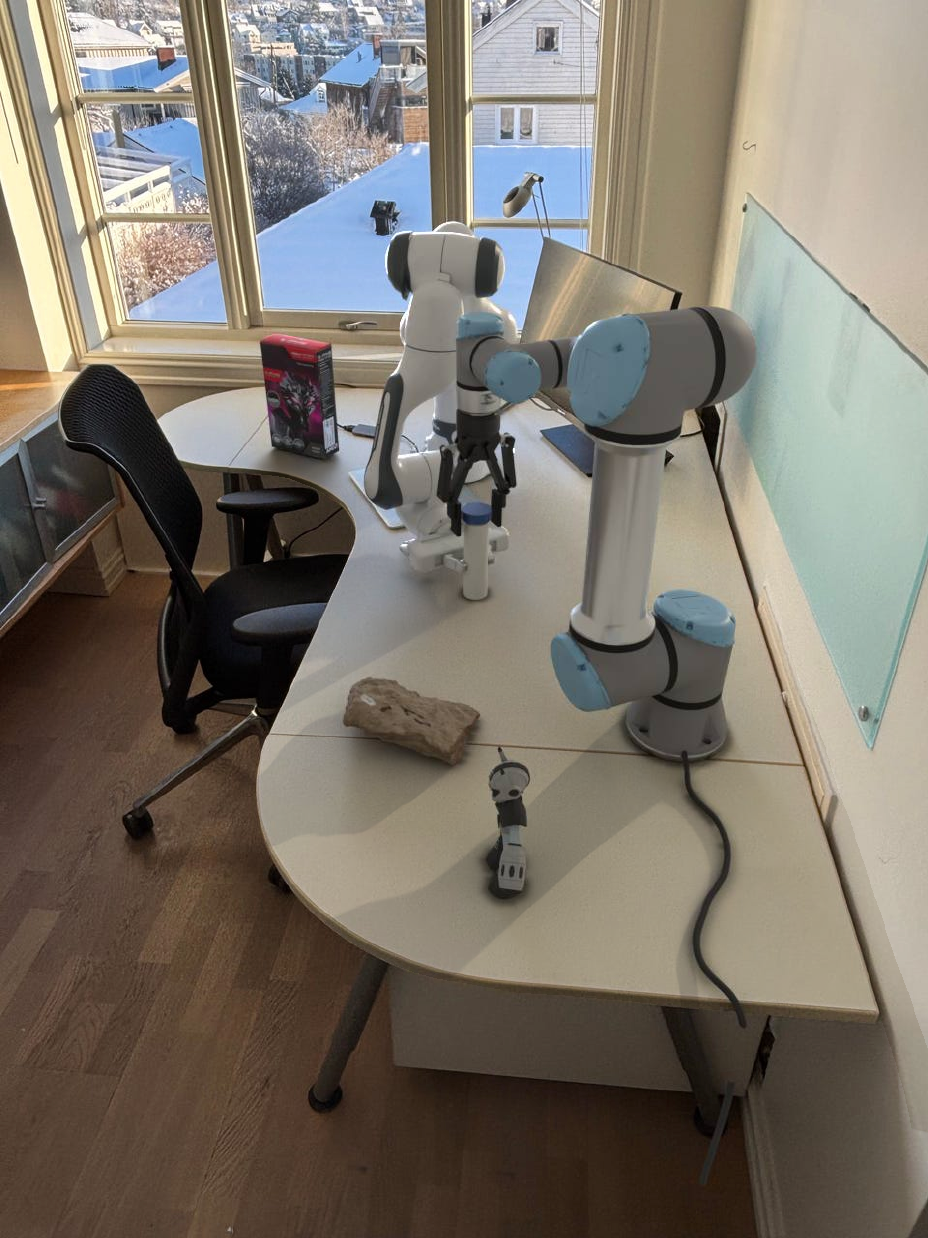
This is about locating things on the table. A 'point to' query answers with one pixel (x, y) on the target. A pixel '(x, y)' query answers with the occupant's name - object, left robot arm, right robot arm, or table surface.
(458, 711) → the stone
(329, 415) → the graphics card box
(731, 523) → the table surface
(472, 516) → the lid
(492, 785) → the robot
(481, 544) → the white bottle
